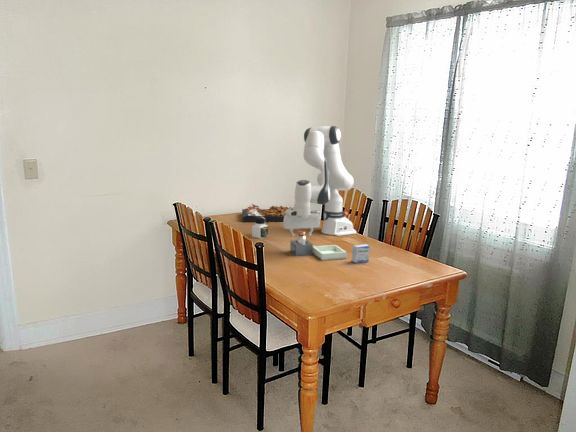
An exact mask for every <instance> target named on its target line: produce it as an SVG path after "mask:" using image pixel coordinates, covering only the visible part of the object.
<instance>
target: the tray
mask: <svg viewBox="0 0 576 432" xmlns="http://www.w3.org/2000/svg"><path fill="white" fill-rule="evenodd" d="M312 255H314V256H316V257H317V258H318V259H319V260H321V261H331V260H344V259H345V260H346V259H347V258H348V257H347V256H348V252H347V251H346V250H344V248H343V249H342V247H340V246H338V245H337V244H329V245H317V246H314V245H313V252H312Z"/></svg>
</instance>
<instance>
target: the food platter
mask: <svg viewBox="0 0 576 432" xmlns="http://www.w3.org/2000/svg"><path fill="white" fill-rule="evenodd" d="M290 208H292V207H291V206H290V207H288V206H282V205H280V206H277V205H276V206H275V205H271V206H270V207H269V208H268V209H267V208H266V209H263V208H262V209H261V208H260V206H259V205H256V204H253V203H252V204H251V205H249V206H247V207H246V208H243V209H242V211H241V213H242V215H241V216H242V217H241V219H242V223H255V218H257V217H264V218H265V223H269V222H283V221H284V216H285V215H286V213H285V211H286V210H287V209H290Z"/></svg>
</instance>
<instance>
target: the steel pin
mask: <svg viewBox="0 0 576 432" xmlns="http://www.w3.org/2000/svg"><path fill="white" fill-rule="evenodd" d="M306 235H307V231H306V230H298V231H297V240H298V242H297V243H298V244H306V240H307V236H306Z"/></svg>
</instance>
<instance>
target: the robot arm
mask: <svg viewBox="0 0 576 432" xmlns="http://www.w3.org/2000/svg"><path fill="white" fill-rule="evenodd" d="M341 135H342V132H341V129H340V128H339V127H338V126H336V125H332V126H331V125H330V126H329V125H328V126H327V125H323V126H322V125H321V126H316V127H309V128H307V129H306V130H305V131H304V133H303V140H304V142H305V143H304V148H303V155H302V156H303V159H304V162H305V163H307V164H308V165H310V166H312V167H313V168H315V169H318V170H319V171H320V172H319V173H318V174H317V176H316V180H317V184H318V185H312V183H311V181H309V180H307V179H300V180H298V181H297V182H296V184H295V188H294V189H295V190H294V206H293V207H291V208H290V209H287V210H286V211H285V213H286V215H285V216H284V221H283V223H282V224H283V225H282V226H283V228H284V229H285V230H289V231H290V233H291V234H290V235H291V237H292V238H295V237H296V233H294V232H293V231H294V229H295V230H296V229H310V230H309V231H308V232H307V236H308V237H312V233H313V231H314V229H319V228H320V226H321V220H320V219H321V212H320V211H318V210H311V209H312V208H311V206H312V205H311V204H318V205H324V211H323V225H322V228H321V230H320V232H321V233H322V234H325V235H332V236H337V237H340V236H349V235H354V234H355V235H356V234H357V230H356V229H354V223H353V222H352V221H351V220H350V219H348V217H346V216H348V215H349V213H348V212H347V211H344V210H343V203H344V199H343V197H342V196H341V195H340V193H339V191H350V190H351V189H352V188H353V186H354V182H355V180H354V177H353V176H352V175H351V174H350V173H349V172H348V171H347V169H346V168H345V166H344V163H343V161H342V157H341V156H342V155H341V152H340V145H339V143H340V141H341V140H342V136H341Z"/></svg>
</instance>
